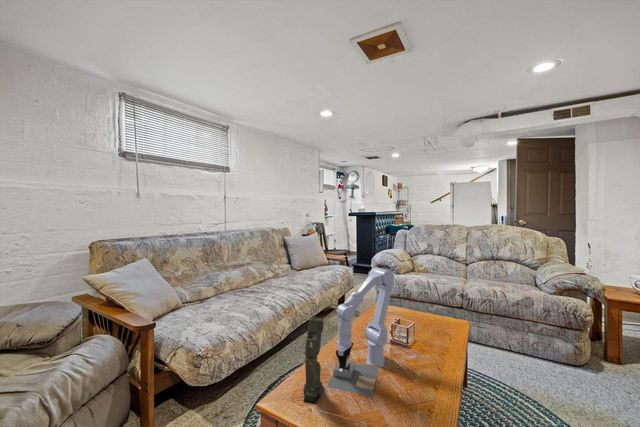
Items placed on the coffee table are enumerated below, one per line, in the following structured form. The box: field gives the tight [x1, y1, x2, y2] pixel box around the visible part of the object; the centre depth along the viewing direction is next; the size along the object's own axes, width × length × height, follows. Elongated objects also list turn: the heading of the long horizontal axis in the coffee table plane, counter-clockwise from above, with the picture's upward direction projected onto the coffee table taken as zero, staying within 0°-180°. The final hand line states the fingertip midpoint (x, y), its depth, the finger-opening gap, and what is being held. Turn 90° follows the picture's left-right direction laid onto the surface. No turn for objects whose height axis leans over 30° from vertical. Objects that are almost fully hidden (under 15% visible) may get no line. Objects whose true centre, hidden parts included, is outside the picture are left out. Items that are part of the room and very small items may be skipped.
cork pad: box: [356, 376, 377, 392], centre depth 112 cm, size 7×7×1 cm
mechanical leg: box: [303, 315, 325, 405], centre depth 107 cm, size 14×7×30 cm, turn 169°
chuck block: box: [332, 359, 356, 380], centre depth 119 cm, size 8×8×3 cm
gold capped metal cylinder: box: [341, 355, 350, 370], centre depth 119 cm, size 3×3×8 cm
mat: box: [326, 362, 379, 398], centre depth 117 cm, size 20×18×1 cm
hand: (344, 363), depth 119 cm, fingers open, 6 cm apart
